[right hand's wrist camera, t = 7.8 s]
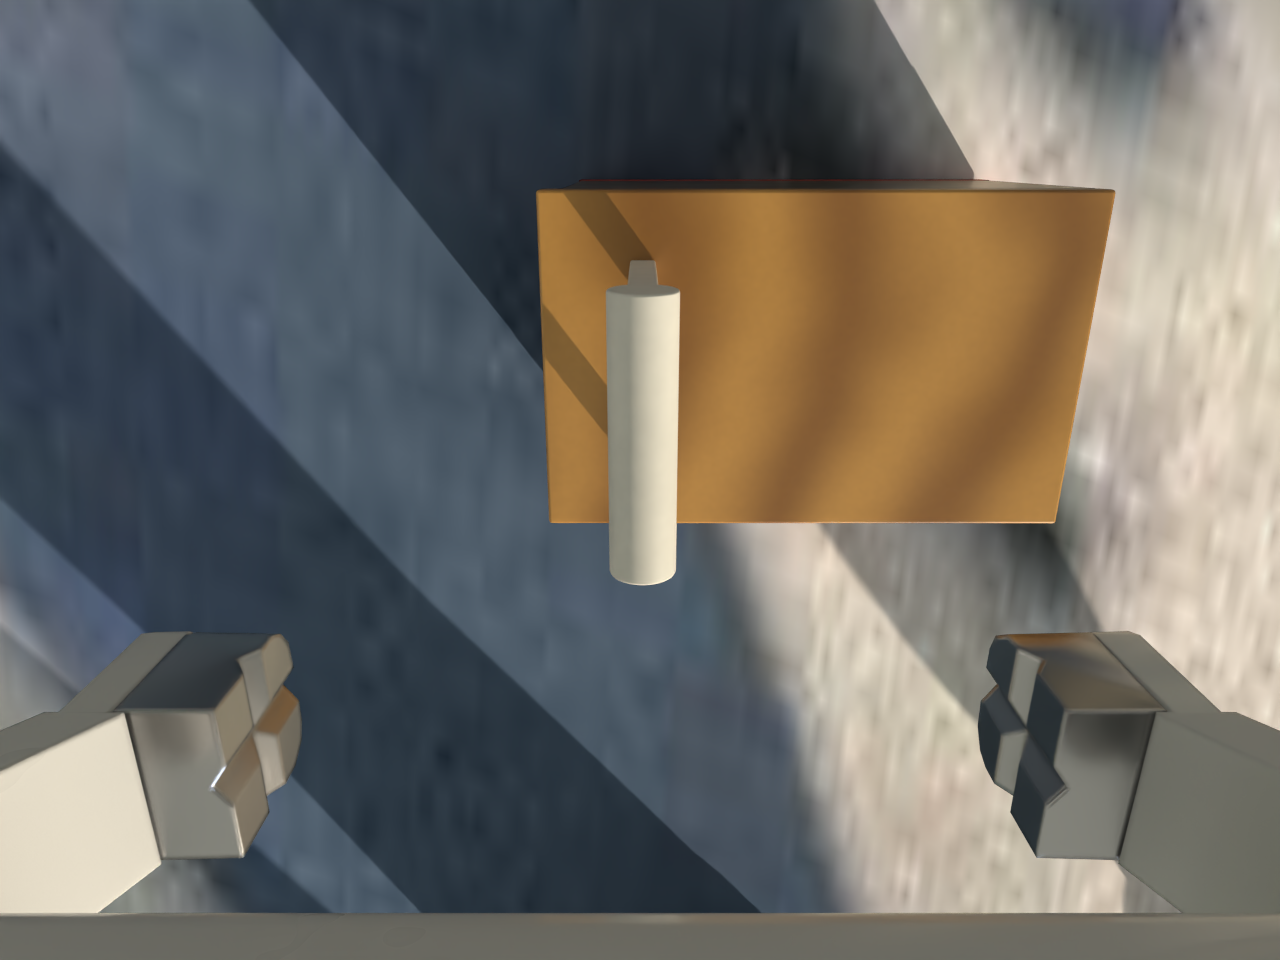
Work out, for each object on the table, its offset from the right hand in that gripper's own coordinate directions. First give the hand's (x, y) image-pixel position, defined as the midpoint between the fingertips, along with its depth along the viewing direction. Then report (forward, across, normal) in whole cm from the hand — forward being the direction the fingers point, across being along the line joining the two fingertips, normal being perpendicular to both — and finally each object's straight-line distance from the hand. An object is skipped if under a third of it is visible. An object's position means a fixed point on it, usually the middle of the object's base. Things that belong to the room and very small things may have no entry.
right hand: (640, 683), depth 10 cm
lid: (+17, +5, 0) cm, 17 cm away
